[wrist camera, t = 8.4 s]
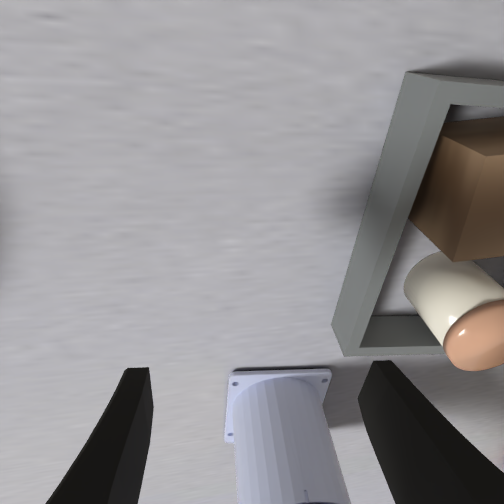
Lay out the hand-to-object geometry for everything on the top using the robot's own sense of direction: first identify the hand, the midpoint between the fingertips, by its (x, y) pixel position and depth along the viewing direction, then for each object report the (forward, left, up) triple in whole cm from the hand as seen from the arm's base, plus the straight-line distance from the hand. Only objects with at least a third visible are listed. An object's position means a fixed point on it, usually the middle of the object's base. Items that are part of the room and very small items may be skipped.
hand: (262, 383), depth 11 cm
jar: (-3, -14, -10) cm, 17 cm away
